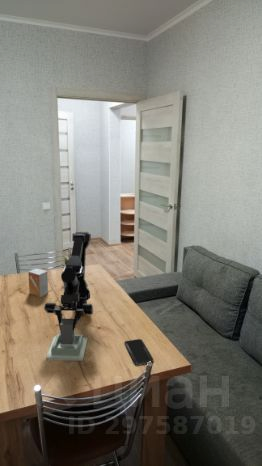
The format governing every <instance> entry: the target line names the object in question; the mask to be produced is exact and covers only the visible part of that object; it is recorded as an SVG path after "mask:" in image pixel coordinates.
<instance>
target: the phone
mask: <svg viewBox="0 0 262 466" xmlns="http://www.w3.org/2000/svg"><path fill="white" fill-rule="evenodd" d="M123 344H124V346H125V348H126V350H127V353H128V354H129V357H130V359H131V361H132V364H134V365H135V366H141V365H146V364H148V363H147V362H149V361H151V362H152V363H153V362H154V357H153V356H152V354H151V352H150V351H149V349H148V347H147V346H146V344H145V342H144V340H143V339H142V338H137V339H131V340H125V341H124V343H123ZM140 364H141V365H140Z"/></svg>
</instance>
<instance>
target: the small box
mask: <svg viewBox="0 0 262 466" xmlns="http://www.w3.org/2000/svg"><path fill="white" fill-rule="evenodd" d="M27 272H28V274H27V275H28V293H29V295H33V296H36V297H39V298H42V297H43V296H45V295H48V294H49V282H48V281H49V279H48V277H49V276H48V270H44V269H40V268H37V267H36V268H34V269H32V270H31V269H30V270H29V271H27Z"/></svg>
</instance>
